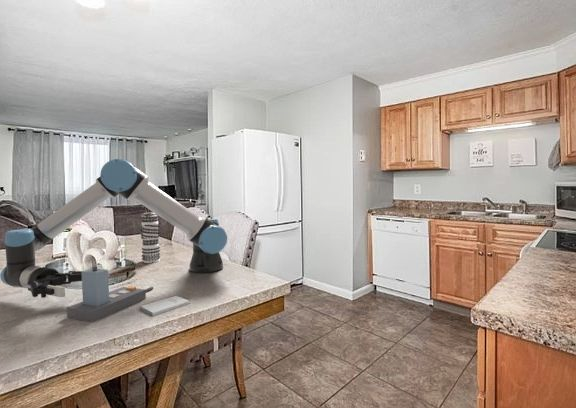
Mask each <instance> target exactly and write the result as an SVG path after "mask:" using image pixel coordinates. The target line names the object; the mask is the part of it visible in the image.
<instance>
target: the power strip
mask: <svg viewBox="0 0 576 408" xmlns="http://www.w3.org/2000/svg"><path fill="white" fill-rule="evenodd" d="M153 289H154V286H150V287H147V288H145V289H143V288H137V287H136V286H131V285H129V286H121V287H119V288H116V289H114V290H109V303H106V304H104V305H101V306H99V307H93V306H87V305H83V301H80V302H77V303H75V304H72V305H70V306H67V307H66V316H67V318H68V319H73V320H79V321H84V322H89V323H93V322H96V321H98V320H100V319H102V318H105V317H107V316H109V315H111V314H113V313H115V312H118V311H120V310H123V309H126V308H128V307H129V306H132V305H134V304H136V303H138V302H141V301H143V300H144V299H146V298H147V294H146V293H147V292H149V291H151V290H153Z"/></svg>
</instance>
